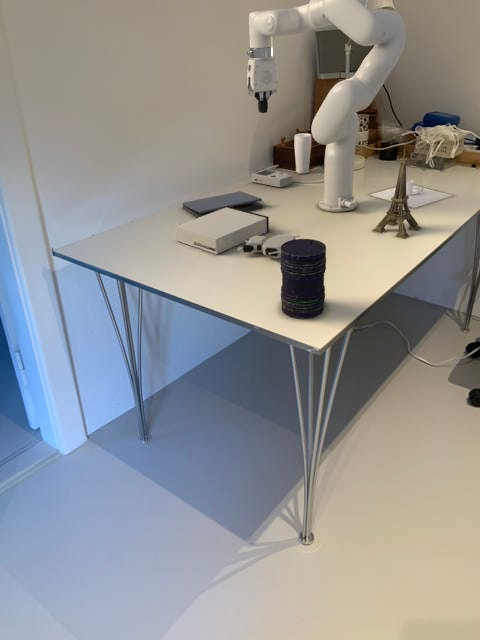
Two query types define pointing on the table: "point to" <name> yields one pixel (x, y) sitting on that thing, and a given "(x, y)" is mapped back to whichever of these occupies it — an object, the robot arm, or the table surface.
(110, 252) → the table surface
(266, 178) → the handheld gaming device
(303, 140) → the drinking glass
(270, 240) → the robot toy
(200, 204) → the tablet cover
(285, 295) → the dark blue cylinder
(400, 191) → the eiffel tower
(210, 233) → the disc drive
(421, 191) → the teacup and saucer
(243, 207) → the dark grey flat slab
